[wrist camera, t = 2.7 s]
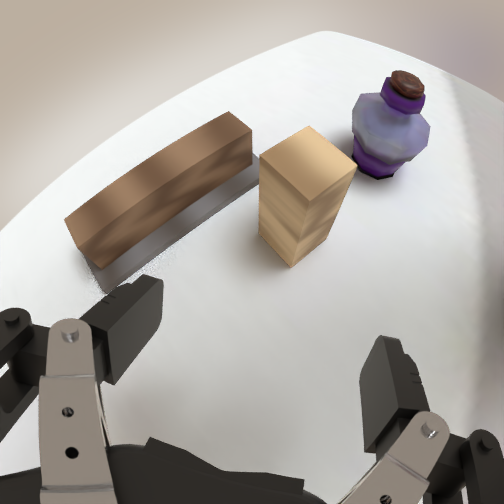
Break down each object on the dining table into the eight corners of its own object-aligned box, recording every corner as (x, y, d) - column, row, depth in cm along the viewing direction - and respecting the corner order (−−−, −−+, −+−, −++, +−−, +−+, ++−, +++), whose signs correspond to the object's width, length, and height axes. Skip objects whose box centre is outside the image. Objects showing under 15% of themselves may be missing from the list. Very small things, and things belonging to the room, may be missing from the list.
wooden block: (293, 206, 31) (309, 125, 21) (326, 238, 29) (357, 165, 19) (258, 232, 30) (259, 155, 19) (291, 268, 28) (309, 201, 18)
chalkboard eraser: (229, 138, 34) (226, 98, 29) (270, 175, 32) (273, 135, 27) (79, 241, 29) (50, 213, 24) (107, 293, 27) (76, 271, 22)
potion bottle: (420, 168, 33) (463, 96, 22) (380, 205, 31) (427, 124, 20) (368, 124, 35) (394, 47, 24) (323, 152, 33) (344, 65, 22)
